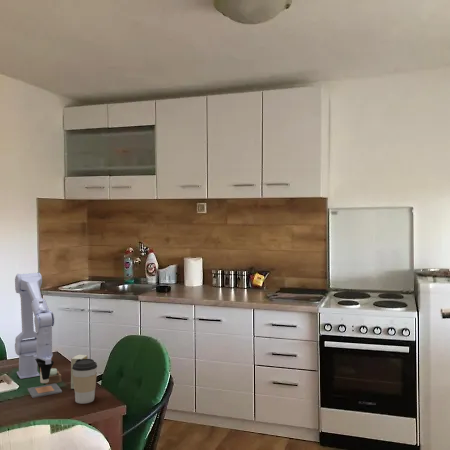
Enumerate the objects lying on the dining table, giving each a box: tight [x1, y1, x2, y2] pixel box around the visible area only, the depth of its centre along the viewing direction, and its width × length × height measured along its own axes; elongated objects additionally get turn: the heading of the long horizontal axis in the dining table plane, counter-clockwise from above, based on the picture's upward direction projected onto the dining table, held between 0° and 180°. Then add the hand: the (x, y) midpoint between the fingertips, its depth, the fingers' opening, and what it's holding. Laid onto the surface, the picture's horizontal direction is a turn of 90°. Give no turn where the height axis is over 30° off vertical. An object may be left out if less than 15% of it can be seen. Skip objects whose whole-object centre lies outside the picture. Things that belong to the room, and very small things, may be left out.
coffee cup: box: [72, 358, 98, 405], centre depth 188 cm, size 9×9×15 cm
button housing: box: [44, 370, 62, 385], centre depth 208 cm, size 6×6×3 cm
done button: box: [49, 367, 58, 376], centre depth 208 cm, size 4×4×3 cm
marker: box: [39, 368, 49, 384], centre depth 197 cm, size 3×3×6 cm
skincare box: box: [70, 354, 88, 390], centre depth 202 cm, size 6×4×12 cm
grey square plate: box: [27, 383, 63, 399], centre depth 197 cm, size 10×11×1 cm
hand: (44, 377), depth 197 cm, fingers closed on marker, 3 cm apart
